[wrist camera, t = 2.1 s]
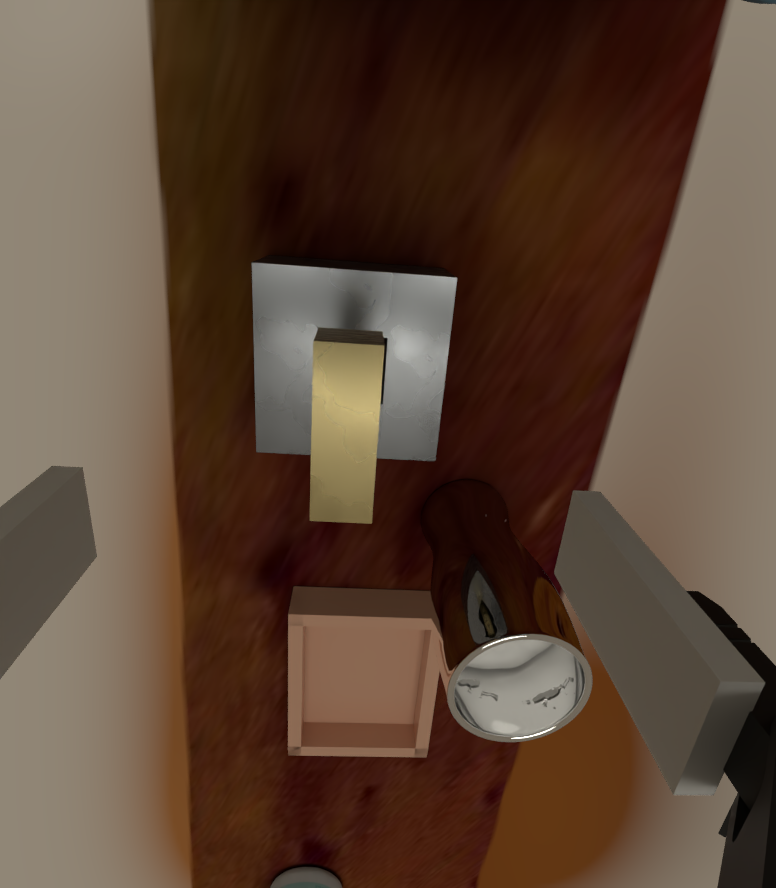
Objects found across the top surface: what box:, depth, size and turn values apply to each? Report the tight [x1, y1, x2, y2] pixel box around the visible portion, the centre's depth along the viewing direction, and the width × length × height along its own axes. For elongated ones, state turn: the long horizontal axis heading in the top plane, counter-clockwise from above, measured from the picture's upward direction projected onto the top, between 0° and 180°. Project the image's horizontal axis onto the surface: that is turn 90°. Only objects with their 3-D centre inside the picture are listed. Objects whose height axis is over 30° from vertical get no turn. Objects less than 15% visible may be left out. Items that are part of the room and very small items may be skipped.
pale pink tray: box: [288, 586, 440, 757], centre depth 41 cm, size 14×11×3 cm
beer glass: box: [421, 480, 592, 742], centre depth 31 cm, size 7×7×15 cm
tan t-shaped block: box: [310, 327, 385, 524], centre depth 26 cm, size 7×2×14 cm, turn 176°
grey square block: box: [252, 255, 457, 461], centre depth 30 cm, size 10×10×5 cm
